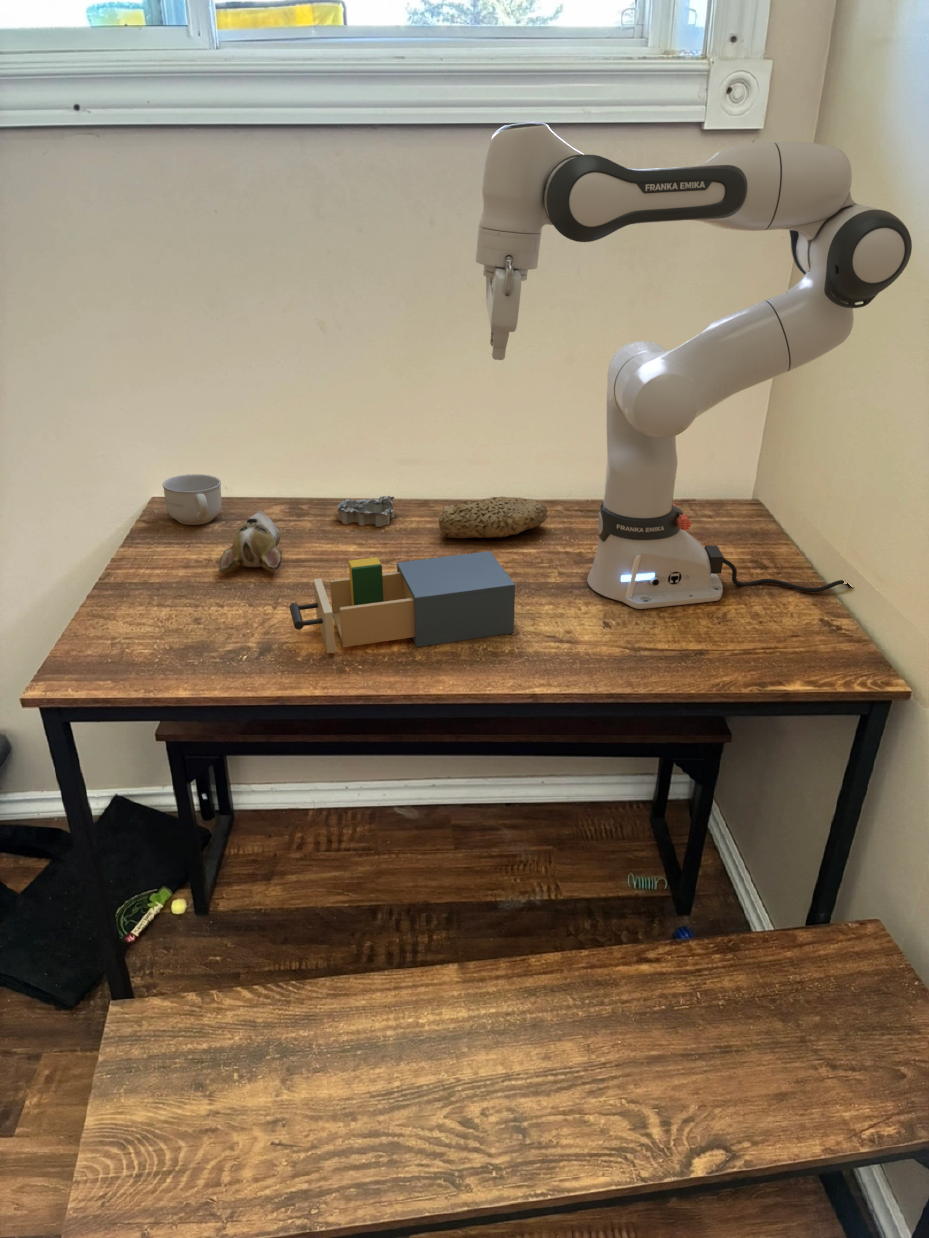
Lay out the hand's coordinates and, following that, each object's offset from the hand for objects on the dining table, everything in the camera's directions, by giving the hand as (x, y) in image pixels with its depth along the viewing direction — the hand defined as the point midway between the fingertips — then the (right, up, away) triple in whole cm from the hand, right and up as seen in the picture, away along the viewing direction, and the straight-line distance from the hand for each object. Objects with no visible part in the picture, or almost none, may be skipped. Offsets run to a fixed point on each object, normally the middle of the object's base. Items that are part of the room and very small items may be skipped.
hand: (496, 352), depth 131 cm
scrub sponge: (-20, -39, +6) cm, 44 cm away
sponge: (+1, -23, +38) cm, 45 cm away
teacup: (-57, -21, +42) cm, 74 cm away
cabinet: (-6, -40, +8) cm, 41 cm away
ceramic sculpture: (-42, -30, +26) cm, 58 cm away
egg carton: (-24, -20, +44) cm, 54 cm away
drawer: (-21, -41, +4) cm, 47 cm away
